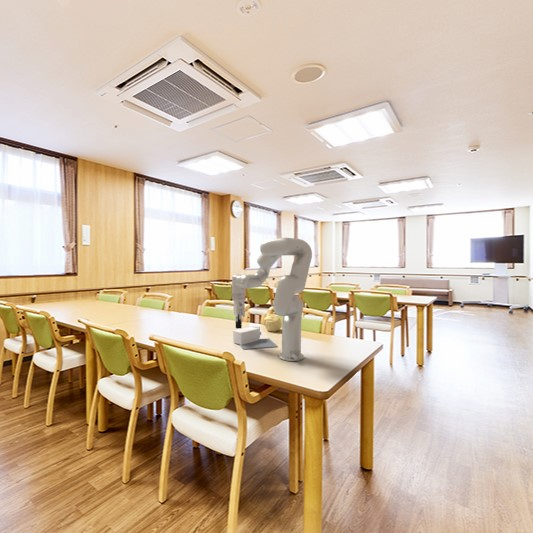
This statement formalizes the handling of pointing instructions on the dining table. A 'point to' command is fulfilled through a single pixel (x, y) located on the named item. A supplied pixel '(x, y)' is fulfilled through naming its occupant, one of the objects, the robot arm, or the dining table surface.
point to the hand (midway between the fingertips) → (238, 328)
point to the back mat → (259, 344)
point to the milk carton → (246, 335)
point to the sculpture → (272, 323)
